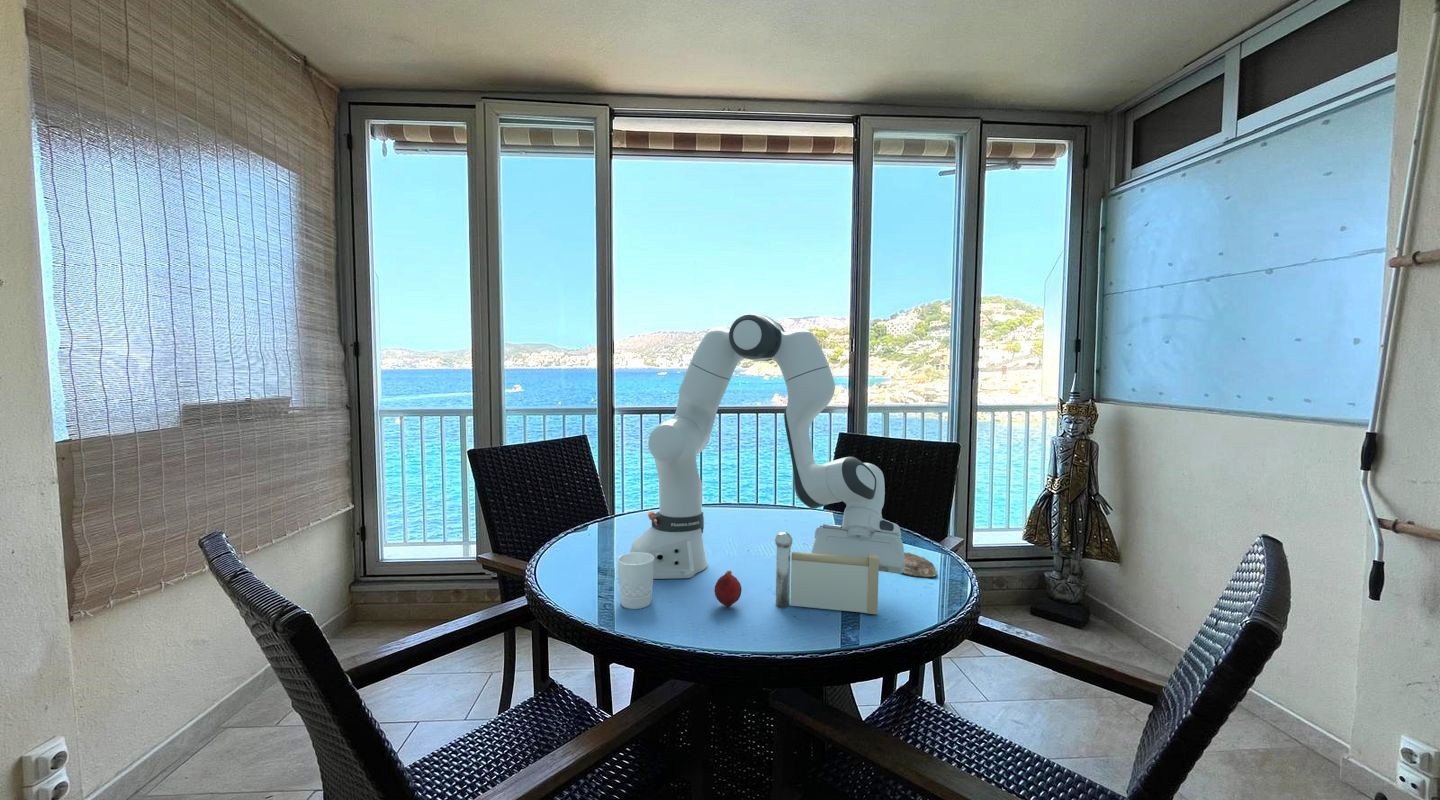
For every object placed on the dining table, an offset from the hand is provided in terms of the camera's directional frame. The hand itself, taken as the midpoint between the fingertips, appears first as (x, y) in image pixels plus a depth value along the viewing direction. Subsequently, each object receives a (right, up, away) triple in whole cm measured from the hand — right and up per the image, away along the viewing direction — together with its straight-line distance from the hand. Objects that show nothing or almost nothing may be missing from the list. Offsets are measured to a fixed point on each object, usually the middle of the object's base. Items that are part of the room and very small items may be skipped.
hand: (854, 585), depth 118 cm
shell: (+22, -5, +25) cm, 33 cm away
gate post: (-15, -5, +2) cm, 16 cm away
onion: (-27, -5, 0) cm, 28 cm away
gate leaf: (-5, -5, -1) cm, 7 cm away
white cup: (-48, -5, +2) cm, 48 cm away
